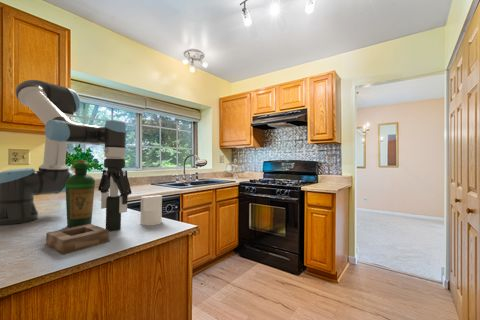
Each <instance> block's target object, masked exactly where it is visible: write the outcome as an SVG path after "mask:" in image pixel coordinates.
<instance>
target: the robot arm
mask: <svg viewBox="0 0 480 320" xmlns="http://www.w3.org/2000/svg"><path fill="white" fill-rule="evenodd" d="M14 92H15V93H14V94H15V97H16V98H17V100H18V101H19V102H20V104H21V105H23V106H24V107H26V108H29V109H30V110H31V111H32V112H33V114H35V116H37V118H39V120H40V121H41V122H42V123H43V124H44V134H45V139H44V140H45V142H44V151H43V162H42V164H41V165H40V166H38V170H35V168H32V167H30V168H28V167H26V168H15V169H9V170H8V169H7V170H3V171H1V172H0V226H7V225H14V224H15V225H18V224H22V223H28V222H31V221H32V222H33V221H35V220H37V219H38V218H39V213H38V212H39V211H38V210H37V207H36V205H35V202H34V198H35V197H34V196H40V195H41V196H42V195H52V194H54V195H56V194H62V193H66V186H65V182H66V181H67V179H68V178H69V177H71V176H73V175H74V174H73V172H72V171H71V170H69V169H70V168H69V166H67V165H66V161H67V151H68V150H67V149H68V143H80V144H92V145H95V146H96V145H99V146H100V145H104V149H103V152H104V153H103V154H104V161H103V167H104V168H105V169H103V170H102V174H101V178H100V181H99V185H98V189H97V191H100V196H101V197H100V209H106V198H108V196H110V176H111V177H112V178H113V181H114V182H115V183H116V184H117V186H118V192H119V196H120V204H119V213H121V214H123V213H127V212H128V196H129V195H132V194H133V193H132V188H131V185H130V181H129V177H128V170H123V169H124V168H125V167H126V159H124V158H126V142H127V141H126V140H127V138H126V137H127V129H126V122H125V121H123V120H117V119H107V120H105V122H104V125H103V126H99V125H91V124H84V123H78V122H73V121H72V120H70V119H71V118H72V117H74V114H75V113H77V112H79V110H80V107H81V101H80V96H79V94H78V92H76V91H75V90H74V89H72V88H69V87H66V86H61V85H58V84H54V83H50V82H46V81H43V80H38V79H28V80H24V81H21V82H20V83H19V84H18V85H17V86H16V87H15V91H14Z"/></svg>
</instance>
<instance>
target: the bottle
mask: <svg viewBox="0 0 480 320" xmlns="http://www.w3.org/2000/svg"><path fill="white" fill-rule="evenodd" d="M86 161H87V160H86V159H76V162H74V165H73V169H74V173H75V174H73V175H72V176H71V177H69V178H68V179H67V181H66V182H65V186H66V192H65V202H66V203H65V208H66V224H67V225H66V226H67V227H68V228H72V227H77V226H82V225H87V224H92V220H93V219H92V218H93V210H94V209H93V207H94V199H95V198H94V197H95V186H96V180H95V179H94V177H93V176H91V175H90V174H87V173H88V172H87V171H88V169H89V163H88V162H86Z"/></svg>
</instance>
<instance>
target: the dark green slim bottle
mask: <svg viewBox="0 0 480 320" xmlns="http://www.w3.org/2000/svg"><path fill="white" fill-rule="evenodd" d="M119 204H120V195H119V189H118V186H117V184H116V183H115V182H114V181H113V178H112V177H111V176H110V188H109V196H108V198H106V208H105V229H108V230H109V232H114V231H119V230H121V229H122V213H119Z"/></svg>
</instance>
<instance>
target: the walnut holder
mask: <svg viewBox="0 0 480 320" xmlns="http://www.w3.org/2000/svg"><path fill="white" fill-rule="evenodd" d="M109 232H110V231H109V230H108V229H106V228H104V227H101V226H99V225H95V224H92V223H91V224H87V225H82V226H77V227H68V228H62V229H58V230H54V231H48V232H46V238H45V239H46V240H45V241H46V243H44V246H45V247H48V248H49V249H51V250H53V251H55V252H56V253H59V254H61V255H67V254H71V253H73V252H77V251H81V250H84V249H87V248H91V247H94V246H99V245H103V244H105V243H108V242H110V239H109Z"/></svg>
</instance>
